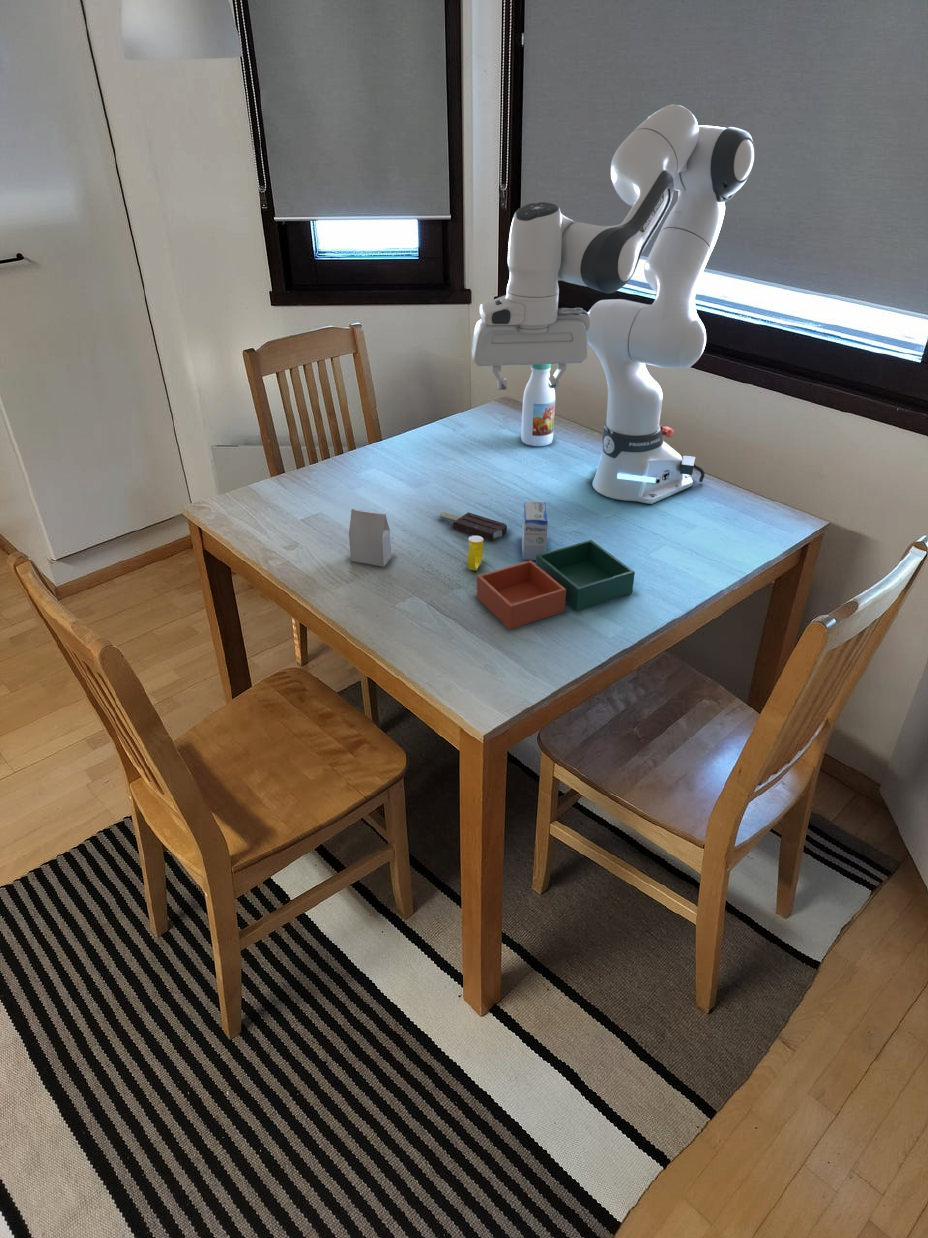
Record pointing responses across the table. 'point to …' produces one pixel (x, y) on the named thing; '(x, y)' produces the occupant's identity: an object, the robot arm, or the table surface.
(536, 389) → the milk bottle
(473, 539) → the watch
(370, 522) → the tea bag
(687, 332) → the robot arm
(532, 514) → the medicine box
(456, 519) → the ice cream bar
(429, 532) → the table surface
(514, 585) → the terracotta bin
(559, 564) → the green bin
